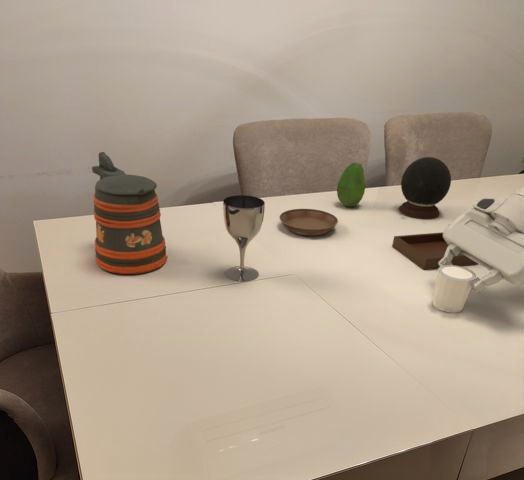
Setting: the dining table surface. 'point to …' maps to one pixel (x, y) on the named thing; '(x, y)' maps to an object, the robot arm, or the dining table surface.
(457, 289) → the white cup
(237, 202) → the wine glass
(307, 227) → the saucer
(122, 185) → the beer stein
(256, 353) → the dining table surface
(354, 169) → the avocado
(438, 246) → the tray
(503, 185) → the dining table surface
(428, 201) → the black ball on stand
